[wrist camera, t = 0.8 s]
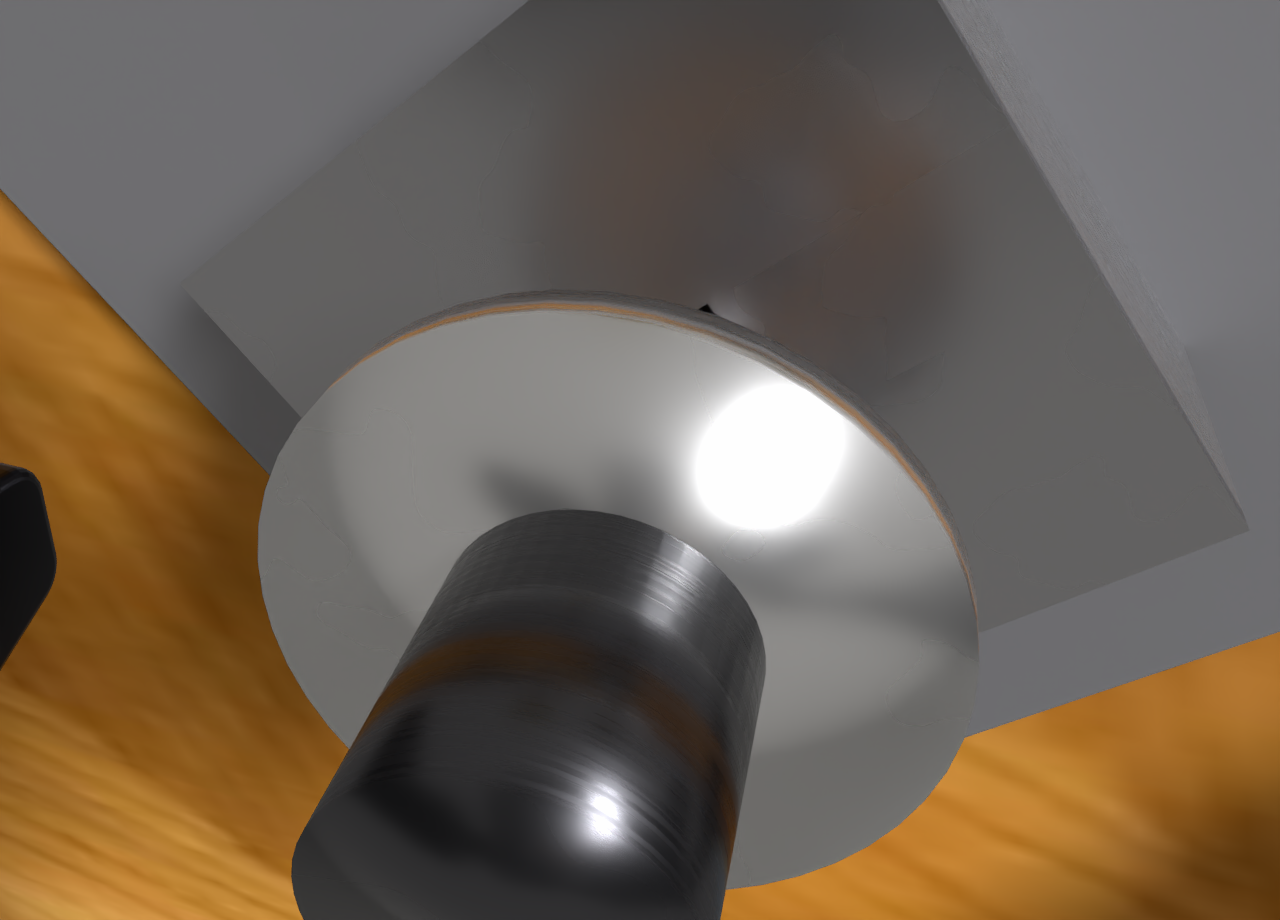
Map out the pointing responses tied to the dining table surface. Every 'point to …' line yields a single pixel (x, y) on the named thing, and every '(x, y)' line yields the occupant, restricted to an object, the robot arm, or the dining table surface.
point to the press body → (782, 251)
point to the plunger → (607, 615)
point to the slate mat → (471, 8)
